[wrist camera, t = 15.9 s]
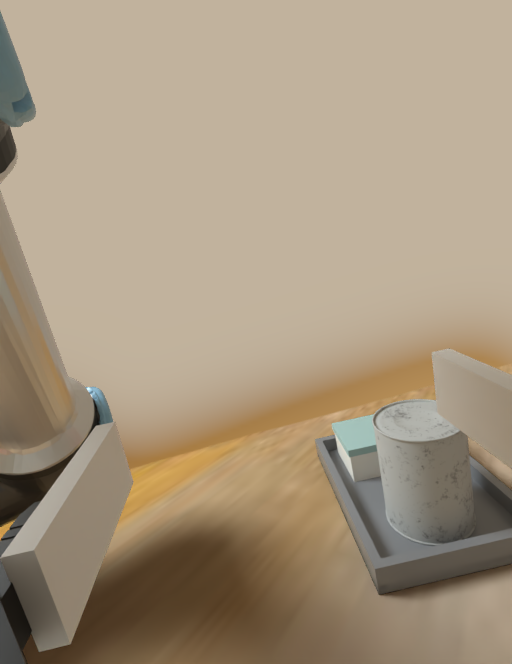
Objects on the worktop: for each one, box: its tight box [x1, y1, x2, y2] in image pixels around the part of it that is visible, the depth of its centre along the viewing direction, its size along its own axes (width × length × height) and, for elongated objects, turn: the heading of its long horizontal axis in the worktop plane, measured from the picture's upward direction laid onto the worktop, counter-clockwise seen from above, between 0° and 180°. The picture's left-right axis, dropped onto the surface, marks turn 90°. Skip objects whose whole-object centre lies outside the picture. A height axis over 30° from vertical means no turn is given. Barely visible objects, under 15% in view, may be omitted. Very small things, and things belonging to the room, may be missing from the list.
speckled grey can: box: [372, 399, 476, 546], centre depth 43 cm, size 10×10×12 cm
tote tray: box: [315, 435, 512, 595], centre depth 49 cm, size 26×18×3 cm
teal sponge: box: [332, 414, 381, 482], centre depth 56 cm, size 8×12×5 cm
